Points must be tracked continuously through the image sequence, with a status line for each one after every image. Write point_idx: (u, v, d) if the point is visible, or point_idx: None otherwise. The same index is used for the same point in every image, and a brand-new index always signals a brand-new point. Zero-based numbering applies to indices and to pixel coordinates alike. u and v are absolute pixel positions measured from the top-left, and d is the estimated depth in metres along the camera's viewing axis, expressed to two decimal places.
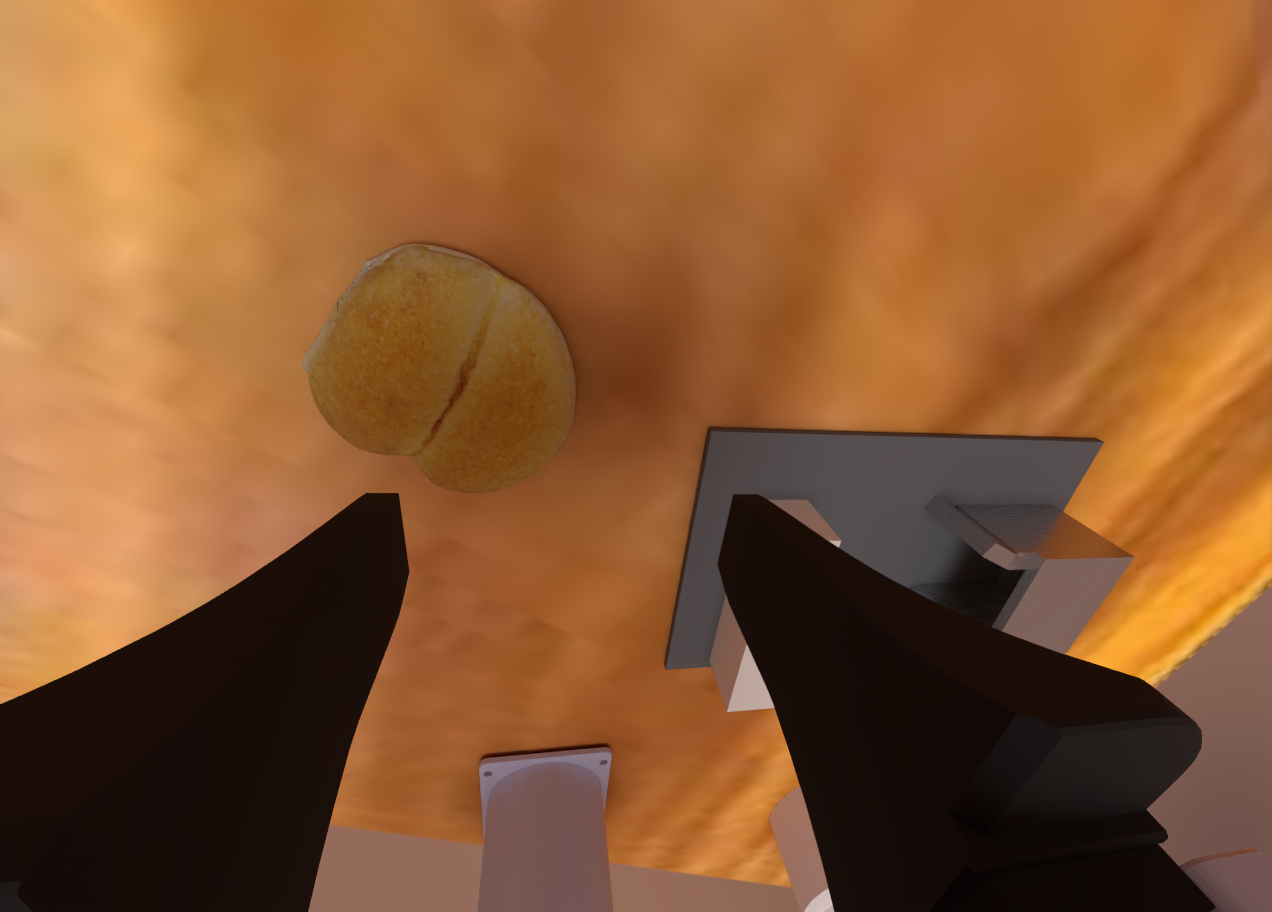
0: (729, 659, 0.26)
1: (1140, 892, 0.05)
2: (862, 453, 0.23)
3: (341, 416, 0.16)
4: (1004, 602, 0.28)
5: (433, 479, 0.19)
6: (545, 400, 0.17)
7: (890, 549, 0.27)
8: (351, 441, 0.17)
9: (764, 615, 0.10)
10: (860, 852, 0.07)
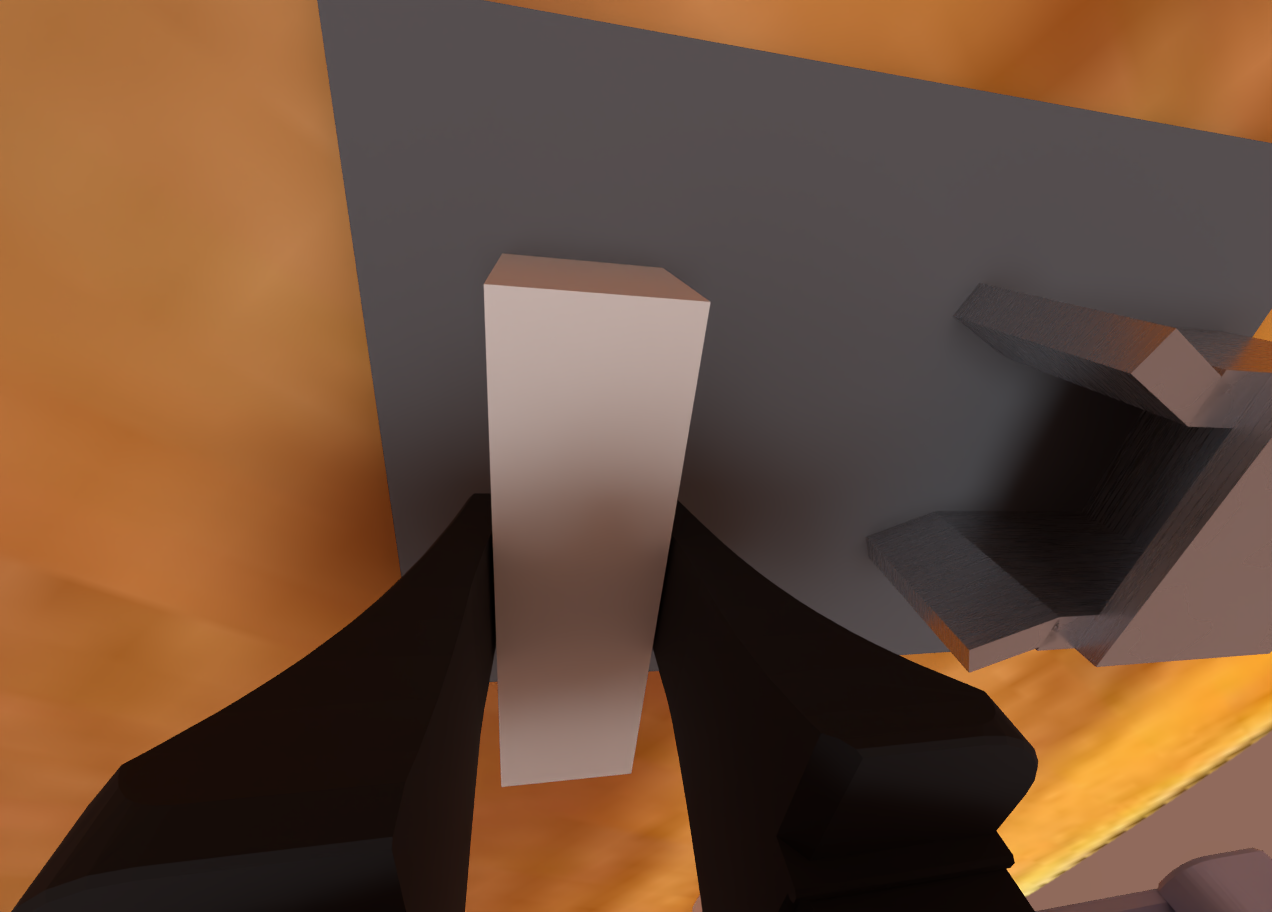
0: None
1: None
2: (795, 123, 0.09)
3: None
4: (1116, 546, 0.13)
5: None
6: None
7: (874, 424, 0.12)
8: None
9: (664, 620, 0.09)
10: (721, 873, 0.07)
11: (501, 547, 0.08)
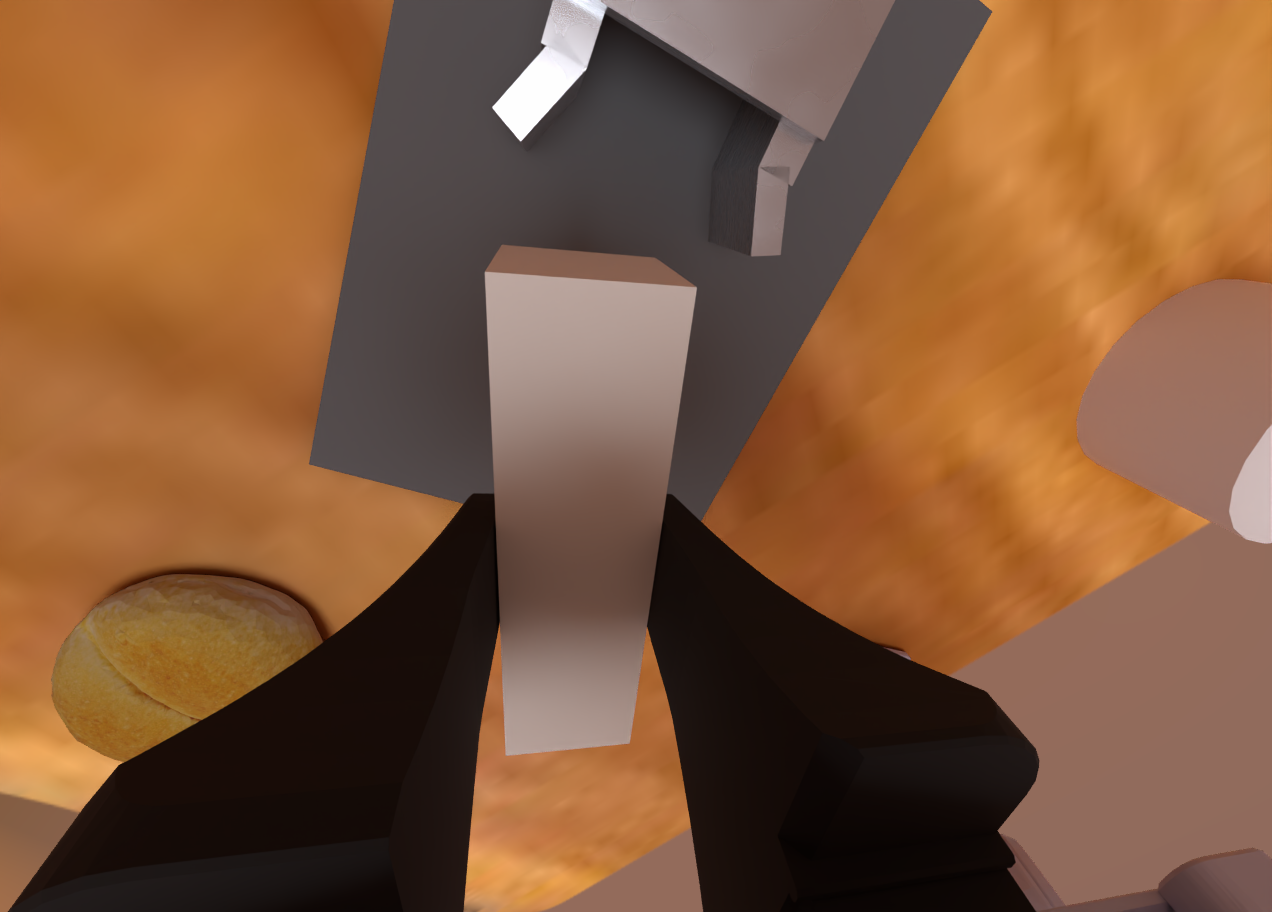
0: None
1: None
2: (380, 265, 0.15)
3: None
4: None
5: None
6: (172, 647, 0.18)
7: (600, 226, 0.16)
8: None
9: (665, 619, 0.09)
10: (722, 873, 0.07)
11: (503, 522, 0.09)
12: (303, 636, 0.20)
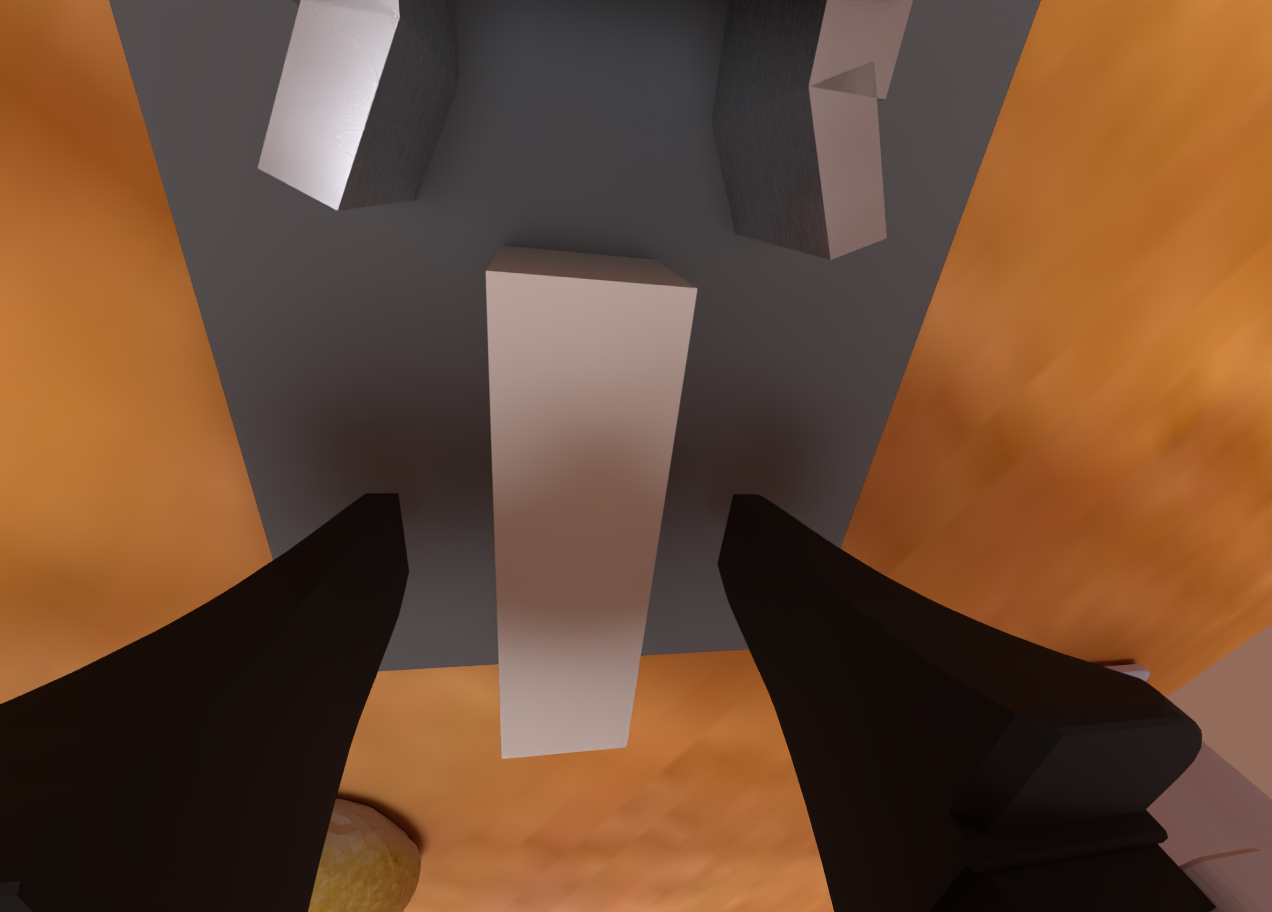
0: None
1: (1140, 892, 0.05)
2: (282, 428, 0.11)
3: None
4: None
5: None
6: None
7: None
8: None
9: (764, 615, 0.10)
10: (860, 852, 0.07)
11: (502, 522, 0.09)
12: (373, 849, 0.17)
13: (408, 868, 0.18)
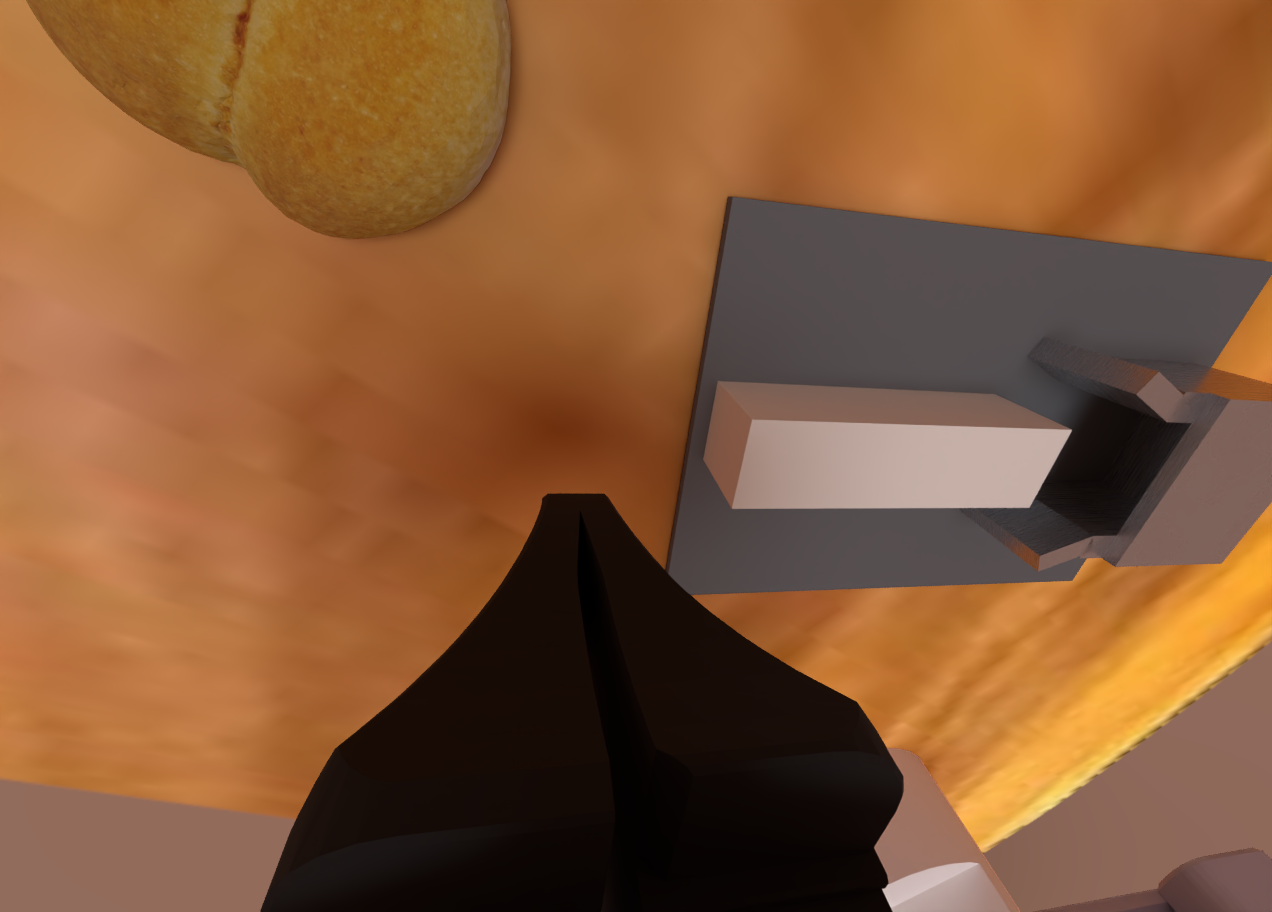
0: (816, 407, 0.16)
1: None
2: (950, 255, 0.16)
3: None
4: (1125, 501, 0.20)
5: (268, 184, 0.11)
6: None
7: None
8: (98, 77, 0.10)
9: (586, 623, 0.09)
10: (610, 889, 0.06)
11: (959, 430, 0.15)
12: (453, 202, 0.12)
13: (385, 234, 0.13)
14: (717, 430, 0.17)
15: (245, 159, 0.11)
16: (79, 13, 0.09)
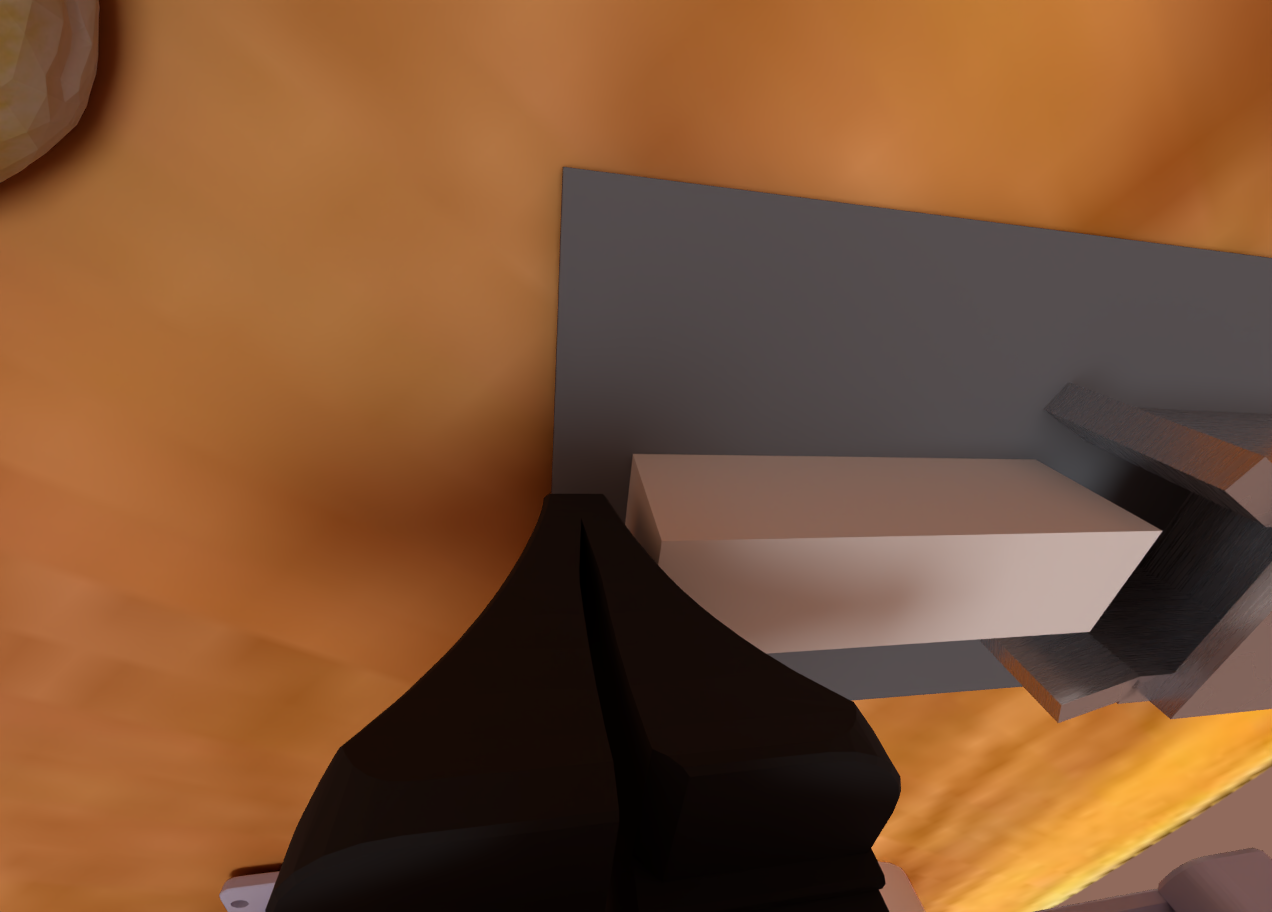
0: (775, 503, 0.10)
1: None
2: (929, 264, 0.10)
3: None
4: (1175, 602, 0.15)
5: None
6: None
7: None
8: None
9: (584, 623, 0.09)
10: (607, 890, 0.06)
11: (994, 539, 0.10)
12: None
13: None
14: (632, 527, 0.11)
15: None
16: None
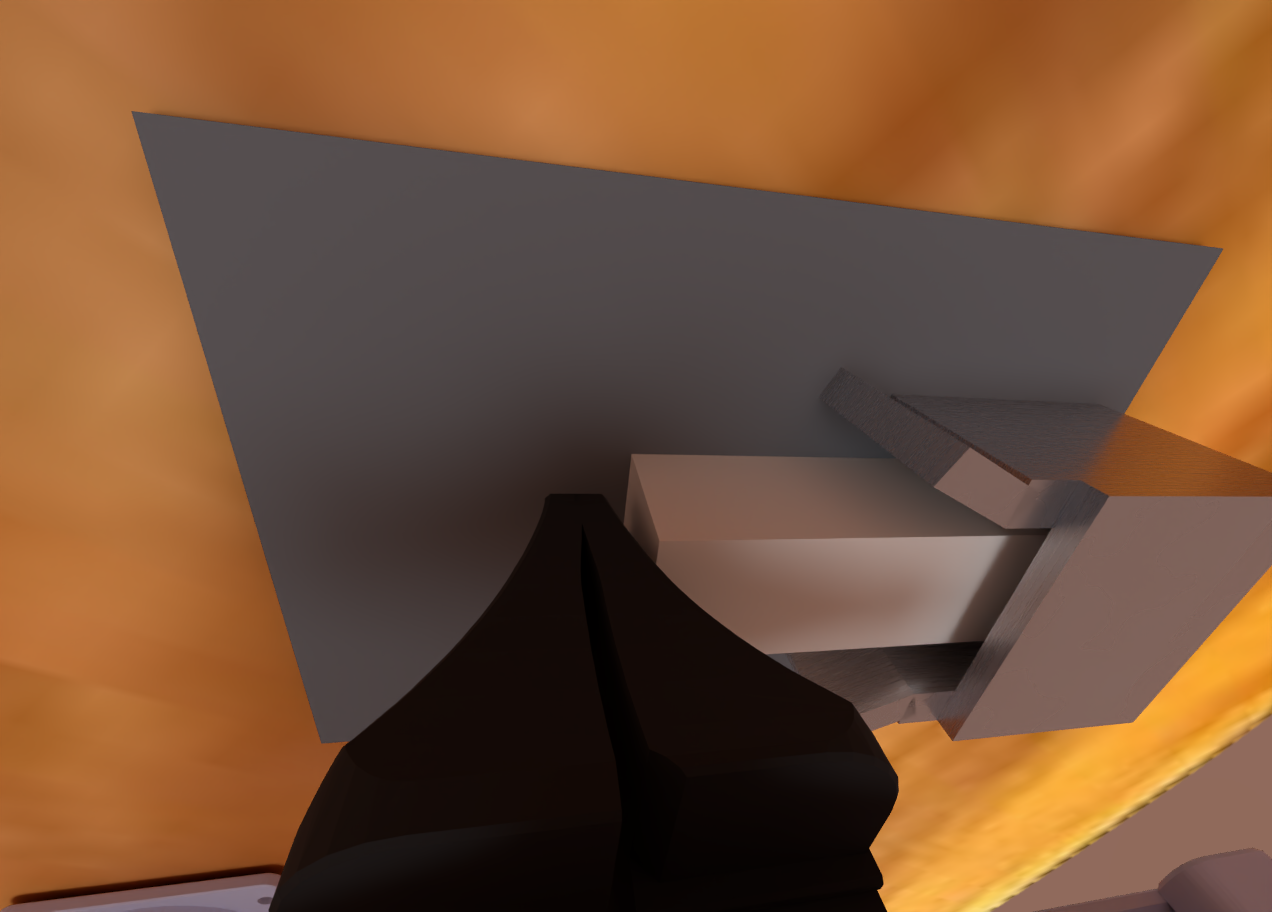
0: (773, 504, 0.10)
1: None
2: (633, 231, 0.09)
3: None
4: None
5: None
6: None
7: None
8: None
9: None
10: None
11: (993, 541, 0.10)
12: None
13: None
14: (630, 527, 0.11)
15: None
16: None
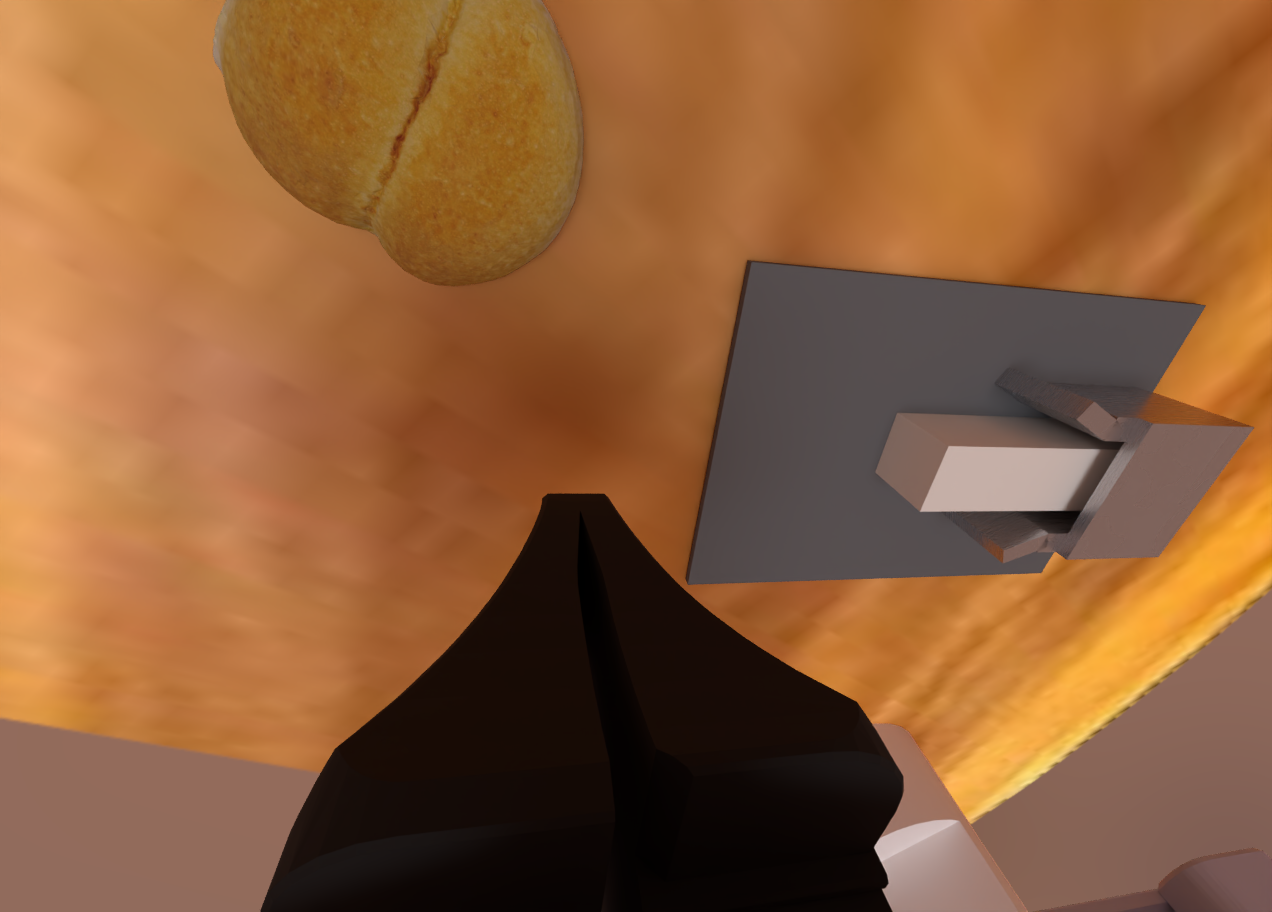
0: (983, 434, 0.20)
1: None
2: (928, 304, 0.20)
3: (266, 119, 0.12)
4: None
5: (399, 250, 0.14)
6: (543, 117, 0.13)
7: None
8: (285, 177, 0.13)
9: (586, 623, 0.09)
10: (610, 889, 0.06)
11: (1092, 452, 0.20)
12: (533, 257, 0.16)
13: (478, 282, 0.16)
14: (897, 450, 0.22)
15: (383, 232, 0.14)
16: (287, 139, 0.12)
